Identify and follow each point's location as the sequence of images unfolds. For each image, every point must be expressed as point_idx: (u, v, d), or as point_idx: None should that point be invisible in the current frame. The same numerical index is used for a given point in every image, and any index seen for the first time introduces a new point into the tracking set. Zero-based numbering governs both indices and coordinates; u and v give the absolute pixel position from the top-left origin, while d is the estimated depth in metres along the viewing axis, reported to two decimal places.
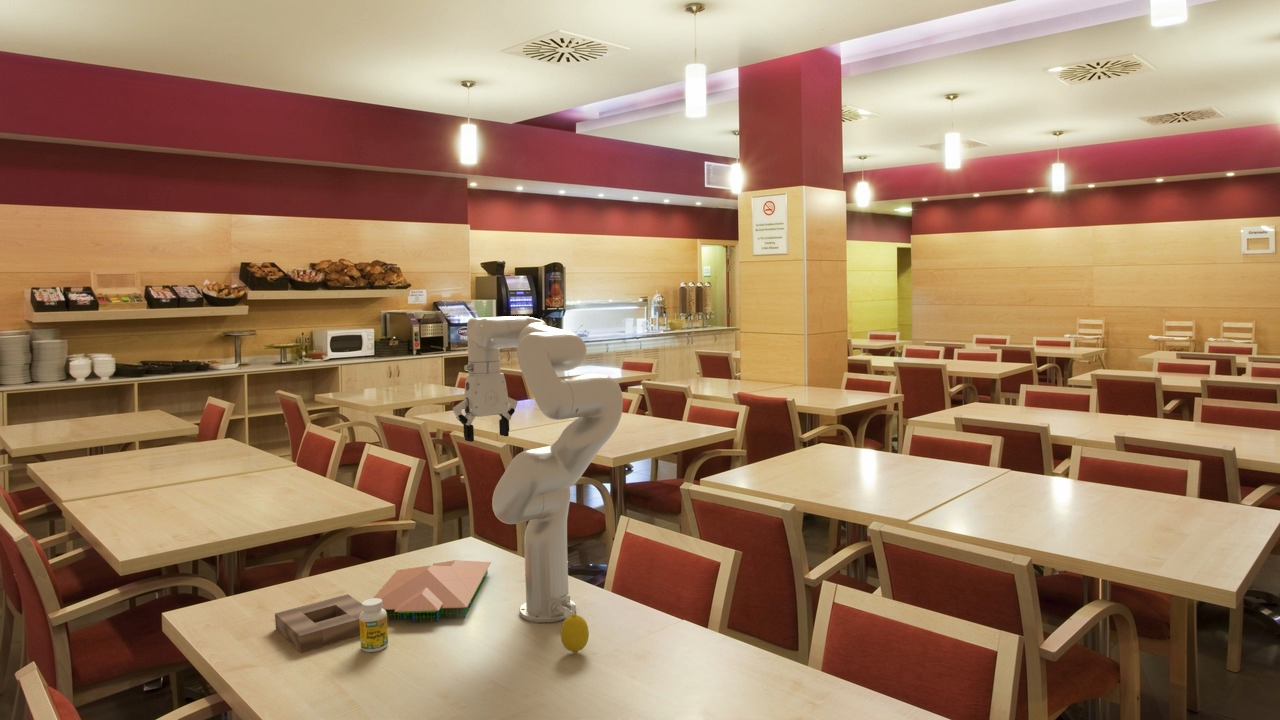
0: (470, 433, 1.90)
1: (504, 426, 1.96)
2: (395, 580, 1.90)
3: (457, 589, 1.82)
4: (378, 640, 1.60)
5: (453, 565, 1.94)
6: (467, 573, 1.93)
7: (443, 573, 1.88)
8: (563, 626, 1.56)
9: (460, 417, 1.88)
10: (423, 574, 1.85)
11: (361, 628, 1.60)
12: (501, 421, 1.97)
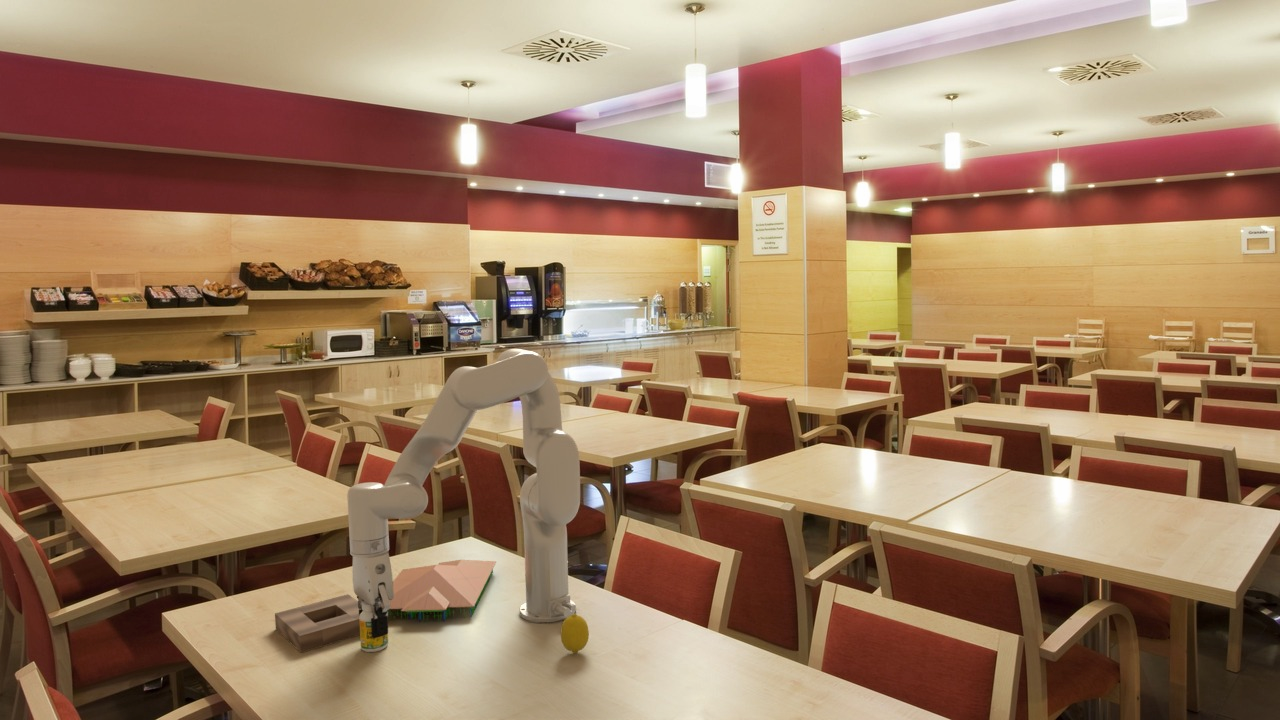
0: (385, 624, 1.61)
1: None
2: (401, 579, 1.90)
3: (464, 588, 1.83)
4: (378, 640, 1.60)
5: (459, 564, 1.95)
6: (473, 572, 1.93)
7: (449, 572, 1.88)
8: (563, 626, 1.56)
9: None
10: (429, 573, 1.85)
11: (361, 628, 1.60)
12: None
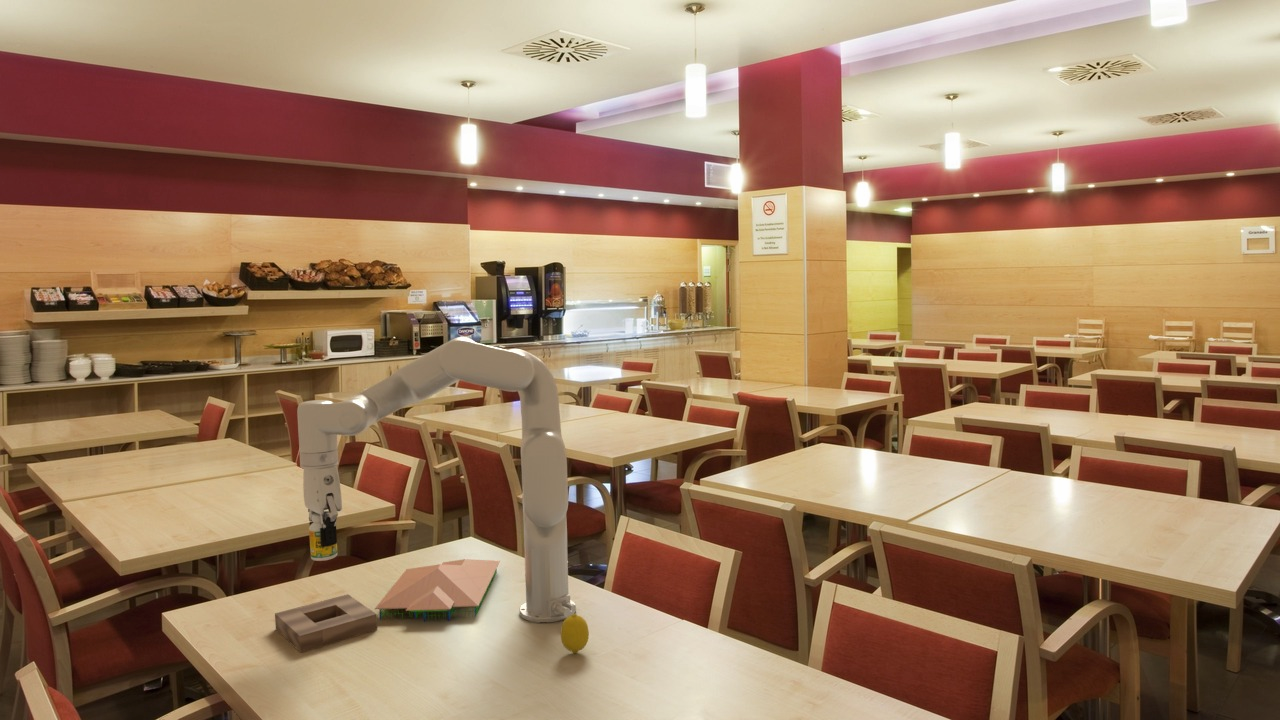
0: (334, 535, 1.68)
1: None
2: (405, 579, 1.91)
3: (468, 588, 1.83)
4: (326, 549, 1.68)
5: (463, 564, 1.95)
6: (477, 572, 1.94)
7: (453, 572, 1.88)
8: (563, 626, 1.56)
9: (335, 518, 1.66)
10: (433, 573, 1.86)
11: (311, 538, 1.68)
12: None
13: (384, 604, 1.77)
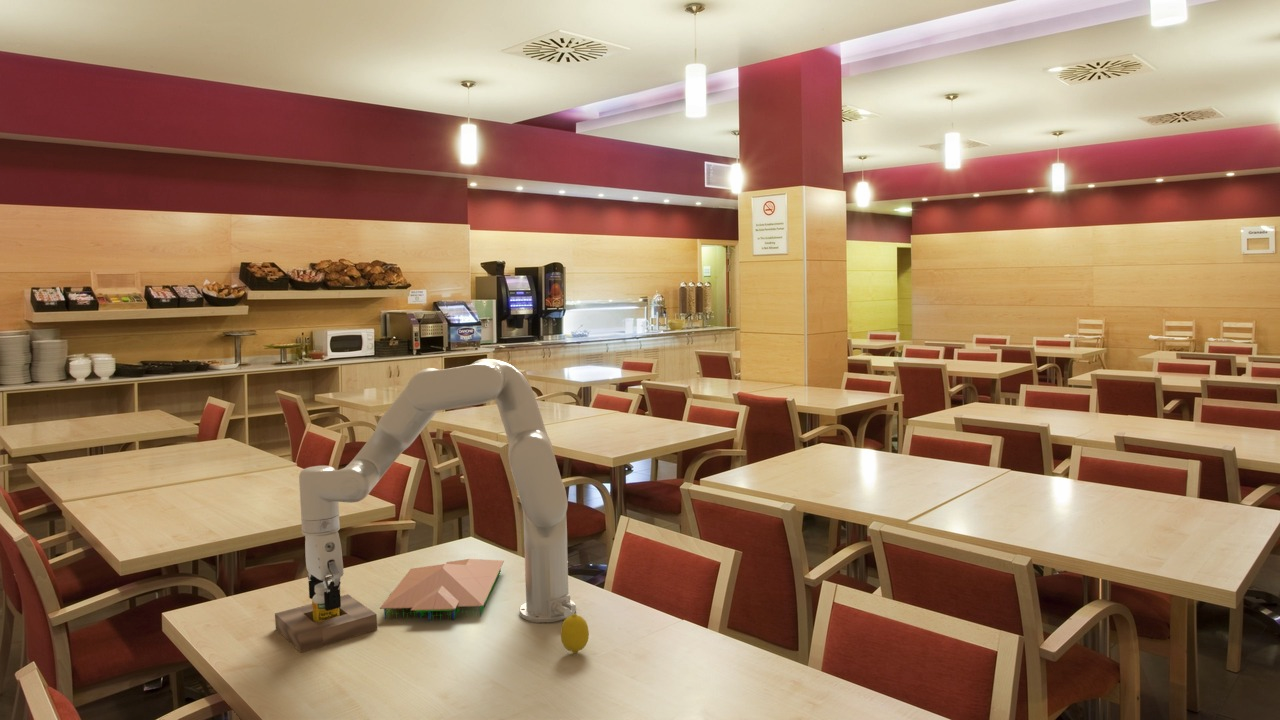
0: (338, 598, 1.69)
1: None
2: (410, 579, 1.91)
3: (473, 587, 1.83)
4: None
5: (467, 564, 1.95)
6: (481, 572, 1.94)
7: (458, 572, 1.89)
8: (563, 626, 1.56)
9: (339, 582, 1.66)
10: (438, 572, 1.86)
11: (314, 609, 1.70)
12: (315, 582, 1.74)
13: (389, 604, 1.77)
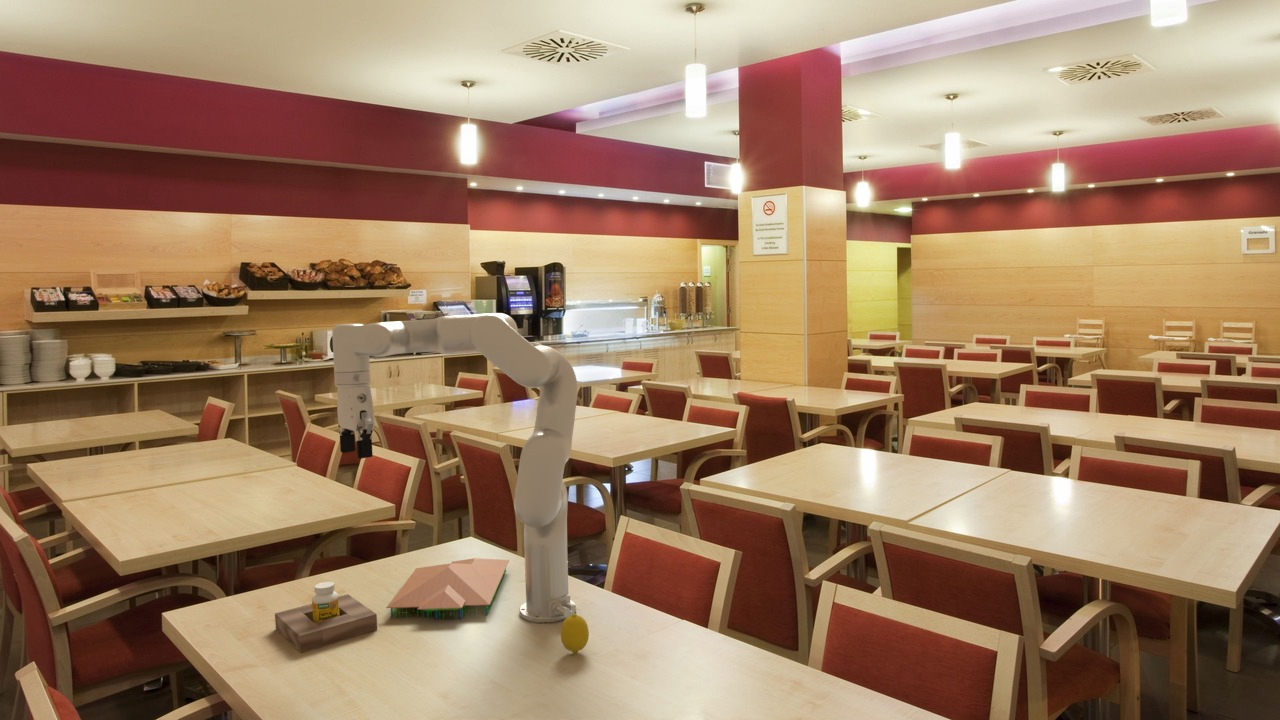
0: (370, 448, 1.76)
1: (352, 440, 1.83)
2: (416, 578, 1.91)
3: (479, 587, 1.84)
4: None
5: (473, 563, 1.96)
6: (487, 571, 1.94)
7: (464, 571, 1.89)
8: (563, 626, 1.56)
9: (372, 431, 1.73)
10: (444, 572, 1.86)
11: (314, 610, 1.70)
12: (346, 436, 1.82)
13: (395, 603, 1.77)
